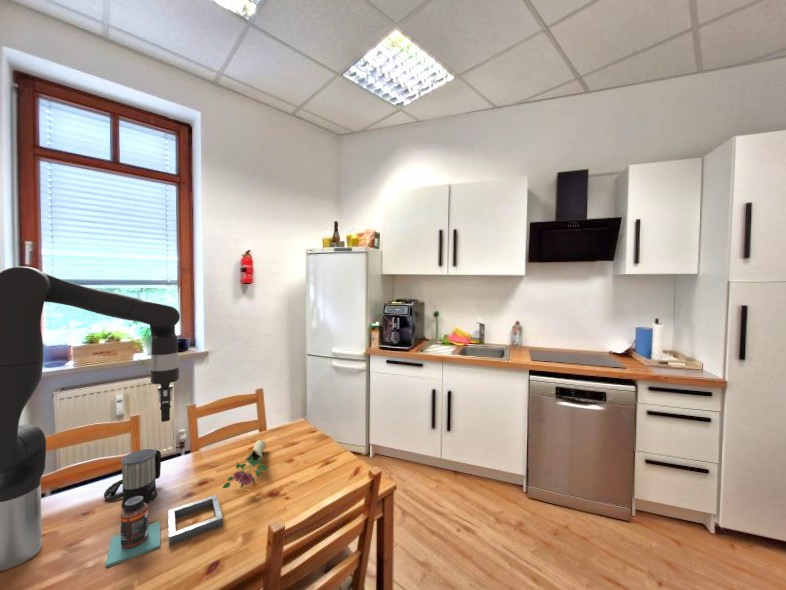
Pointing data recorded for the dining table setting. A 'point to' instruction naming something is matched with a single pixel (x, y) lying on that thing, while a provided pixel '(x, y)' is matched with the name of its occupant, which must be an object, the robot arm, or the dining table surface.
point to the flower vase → (253, 460)
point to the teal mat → (121, 554)
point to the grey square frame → (197, 528)
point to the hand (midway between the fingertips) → (165, 416)
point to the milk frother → (137, 476)
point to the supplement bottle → (134, 522)
